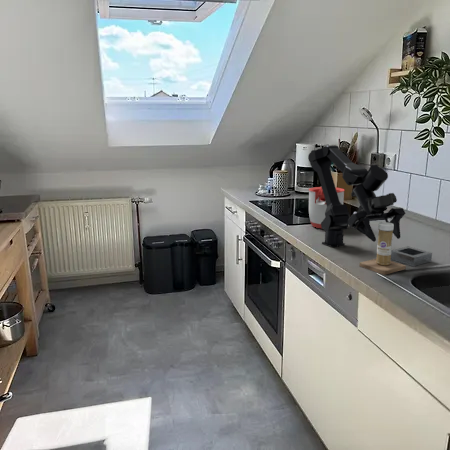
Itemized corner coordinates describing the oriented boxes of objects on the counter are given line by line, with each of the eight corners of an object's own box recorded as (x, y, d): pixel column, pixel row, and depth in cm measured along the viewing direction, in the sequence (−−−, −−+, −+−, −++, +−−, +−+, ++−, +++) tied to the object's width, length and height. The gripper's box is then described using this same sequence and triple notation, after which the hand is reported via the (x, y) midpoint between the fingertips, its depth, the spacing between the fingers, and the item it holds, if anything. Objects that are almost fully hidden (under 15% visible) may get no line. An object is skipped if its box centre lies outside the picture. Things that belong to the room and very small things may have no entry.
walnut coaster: (359, 266, 140) (359, 262, 140) (380, 260, 145) (380, 257, 145) (384, 274, 132) (384, 271, 132) (405, 269, 137) (405, 265, 137)
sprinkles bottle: (376, 265, 137) (378, 224, 134) (375, 260, 141) (378, 221, 138) (391, 266, 136) (394, 225, 133) (390, 262, 140) (393, 222, 137)
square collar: (389, 258, 147) (390, 250, 146) (407, 254, 152) (407, 246, 151) (413, 266, 139) (414, 257, 138) (431, 261, 144) (432, 252, 143)
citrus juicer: (301, 229, 189) (302, 184, 184) (313, 221, 204) (314, 179, 199) (337, 233, 182) (339, 186, 177) (346, 224, 197) (348, 181, 192)
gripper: (355, 186, 133) (375, 229, 126) (404, 183, 139) (426, 223, 131) (339, 206, 142) (357, 247, 135) (386, 202, 148) (405, 241, 140)
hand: (387, 239), depth 135 cm, fingers open, 9 cm apart
